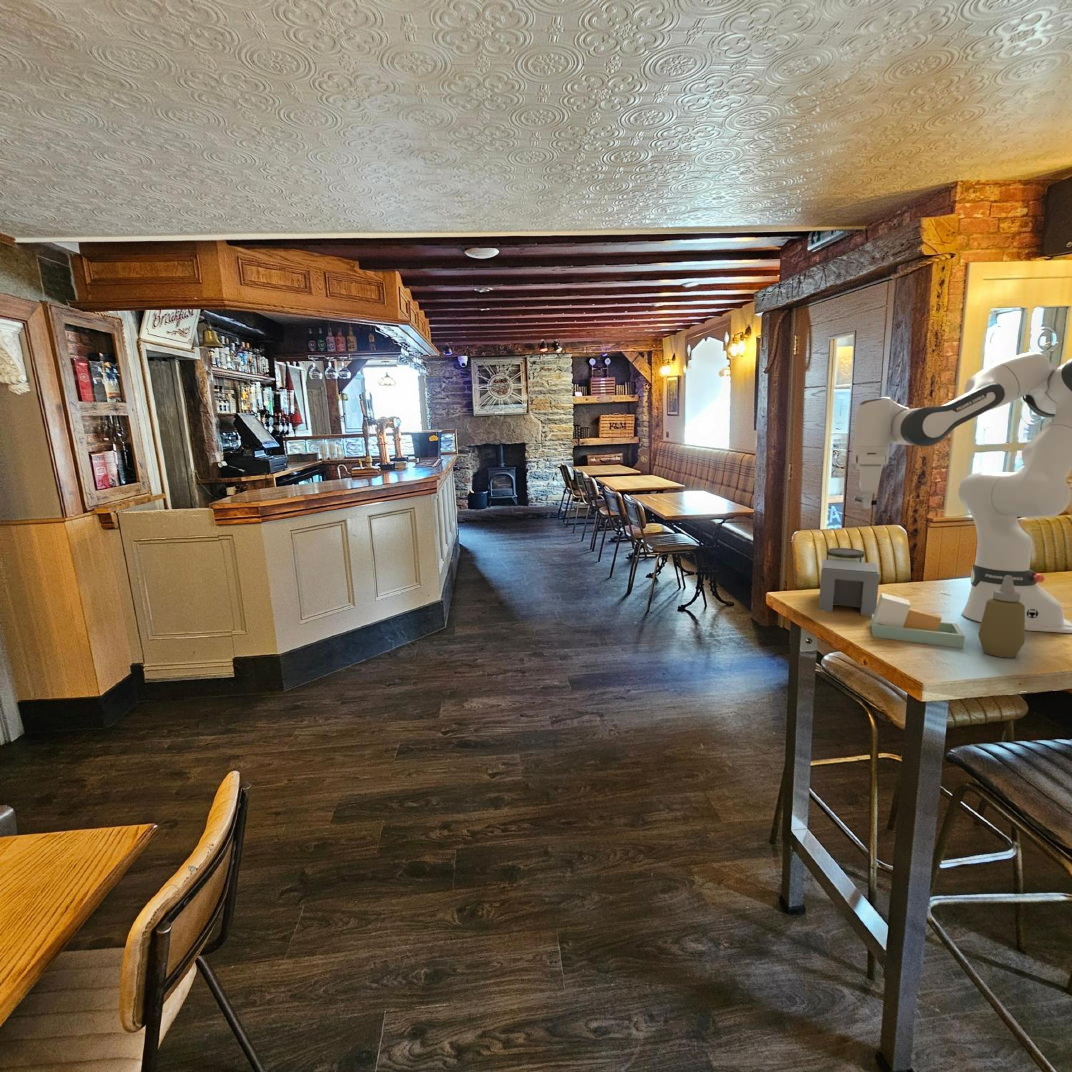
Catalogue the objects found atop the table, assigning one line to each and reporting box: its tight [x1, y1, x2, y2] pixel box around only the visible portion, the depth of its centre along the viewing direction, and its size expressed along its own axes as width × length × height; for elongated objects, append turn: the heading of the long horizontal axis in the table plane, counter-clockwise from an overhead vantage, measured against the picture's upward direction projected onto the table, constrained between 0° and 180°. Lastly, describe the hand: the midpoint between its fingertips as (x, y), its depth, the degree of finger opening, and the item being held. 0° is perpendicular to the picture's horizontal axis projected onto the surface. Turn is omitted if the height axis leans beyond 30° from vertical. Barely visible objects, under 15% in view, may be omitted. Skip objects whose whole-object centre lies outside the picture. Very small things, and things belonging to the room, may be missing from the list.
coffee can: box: [826, 547, 866, 563], centre depth 174 cm, size 10×10×14 cm
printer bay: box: [818, 559, 880, 617], centre depth 162 cm, size 14×13×12 cm
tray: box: [870, 614, 965, 649], centre depth 139 cm, size 18×10×3 cm, turn 62°
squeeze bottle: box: [978, 575, 1026, 659], centre depth 126 cm, size 8×8×18 cm
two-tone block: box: [873, 592, 942, 631], centre depth 139 cm, size 5×13×6 cm, turn 63°
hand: (866, 506), depth 159 cm, fingers open, 8 cm apart
